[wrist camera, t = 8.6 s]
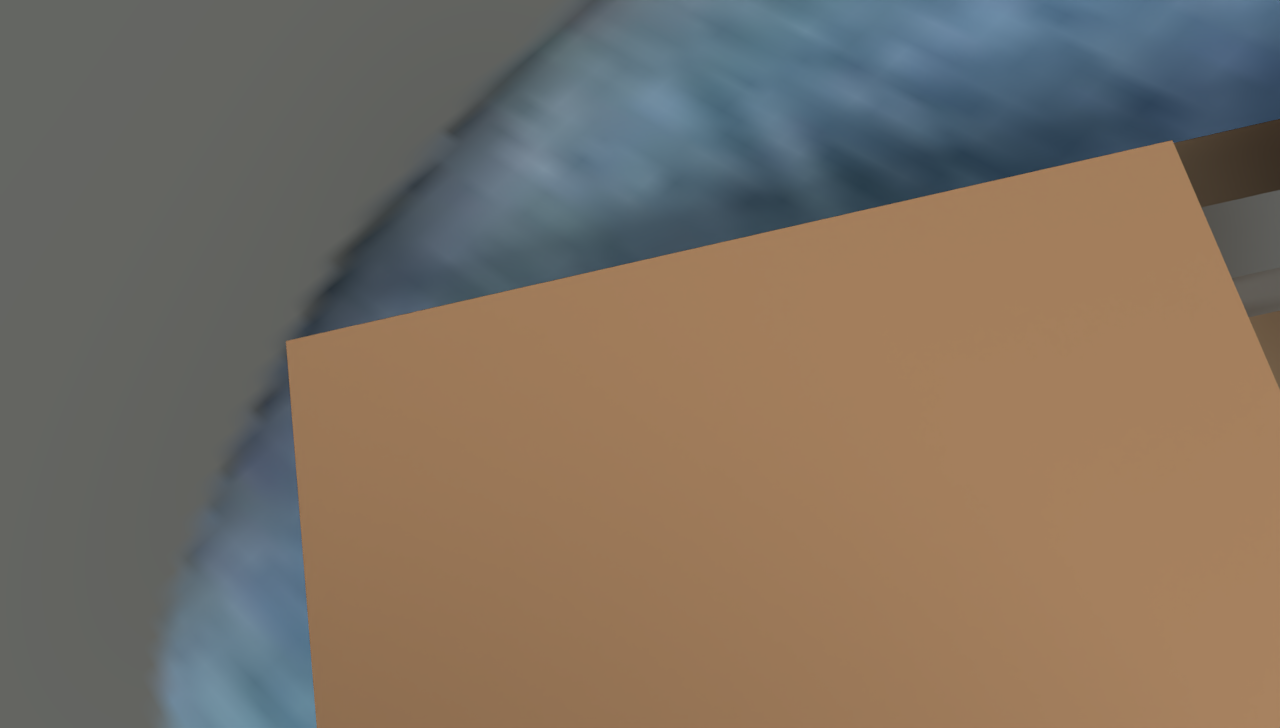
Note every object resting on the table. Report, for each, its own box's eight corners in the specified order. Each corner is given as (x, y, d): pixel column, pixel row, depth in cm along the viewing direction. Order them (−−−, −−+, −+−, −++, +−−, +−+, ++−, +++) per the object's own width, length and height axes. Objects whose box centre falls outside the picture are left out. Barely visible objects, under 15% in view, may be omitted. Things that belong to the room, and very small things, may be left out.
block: (901, 506, 16) (1172, 140, 5) (999, 851, 14) (1656, 1266, 4) (592, 572, 16) (286, 340, 6) (652, 919, 14) (378, 1492, 4)
